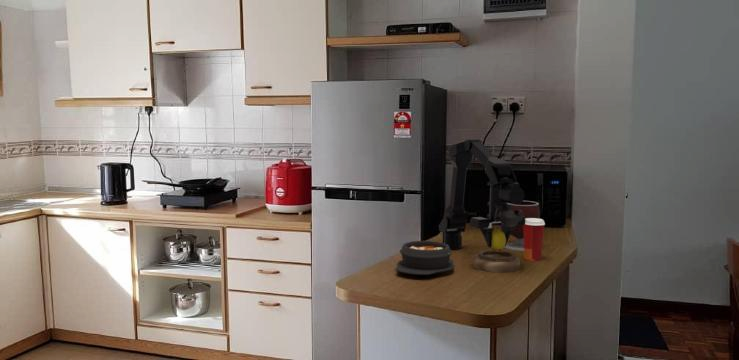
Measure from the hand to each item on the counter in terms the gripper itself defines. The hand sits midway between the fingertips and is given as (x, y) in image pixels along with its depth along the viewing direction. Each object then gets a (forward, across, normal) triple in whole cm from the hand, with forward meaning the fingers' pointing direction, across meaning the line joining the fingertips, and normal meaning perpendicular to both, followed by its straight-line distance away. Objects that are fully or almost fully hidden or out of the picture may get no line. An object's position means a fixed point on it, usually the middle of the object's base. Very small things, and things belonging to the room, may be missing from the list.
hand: (497, 246), depth 211 cm
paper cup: (+7, +18, +4) cm, 20 cm away
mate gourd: (+7, +25, +22) cm, 34 cm away
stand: (+7, 0, 0) cm, 7 cm away
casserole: (+7, -24, +5) cm, 26 cm away
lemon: (+2, 0, 0) cm, 2 cm away
